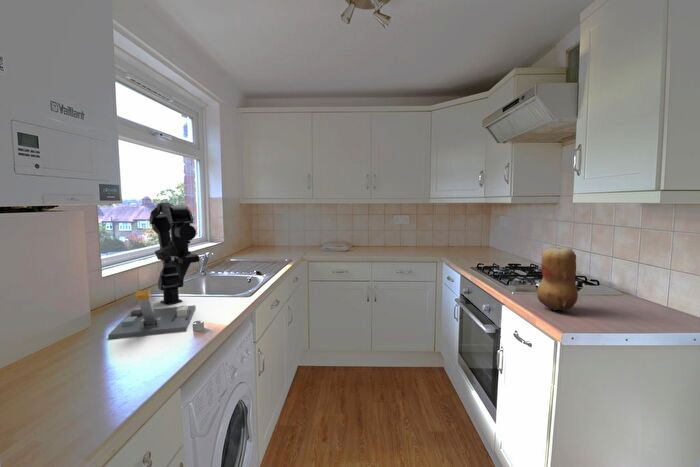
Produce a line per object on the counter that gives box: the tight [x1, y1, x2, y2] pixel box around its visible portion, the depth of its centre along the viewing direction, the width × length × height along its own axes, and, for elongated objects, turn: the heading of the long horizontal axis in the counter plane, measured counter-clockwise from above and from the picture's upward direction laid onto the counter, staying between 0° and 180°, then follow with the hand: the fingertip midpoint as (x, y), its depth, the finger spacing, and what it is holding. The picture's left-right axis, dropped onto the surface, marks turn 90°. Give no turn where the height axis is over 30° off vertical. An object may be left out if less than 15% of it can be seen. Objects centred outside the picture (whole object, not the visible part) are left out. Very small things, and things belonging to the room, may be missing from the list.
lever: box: [134, 289, 157, 326], centre depth 108 cm, size 2×4×16 cm
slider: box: [177, 308, 187, 317], centre depth 122 cm, size 2×3×2 cm, turn 107°
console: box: [107, 305, 196, 340], centre depth 120 cm, size 24×22×4 cm
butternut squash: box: [536, 246, 579, 312], centre depth 131 cm, size 14×13×25 cm
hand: (181, 278), depth 130 cm, fingers closed
